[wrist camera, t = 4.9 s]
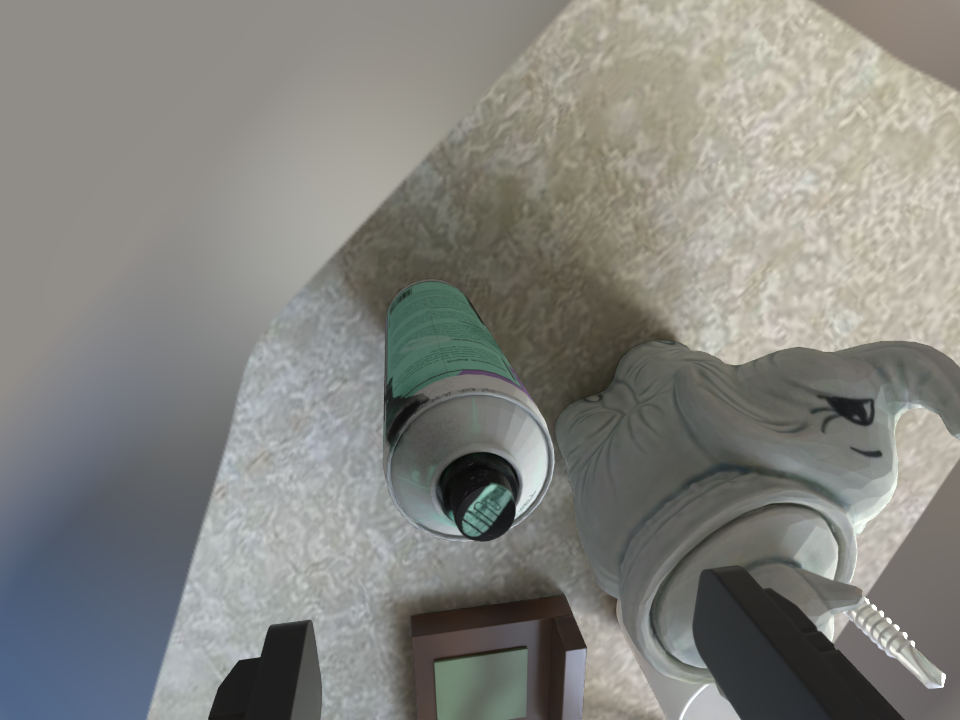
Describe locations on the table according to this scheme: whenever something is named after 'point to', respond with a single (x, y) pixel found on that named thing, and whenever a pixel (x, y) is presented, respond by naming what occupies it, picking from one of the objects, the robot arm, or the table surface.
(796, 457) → the teapot
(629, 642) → the cup
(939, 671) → the screw
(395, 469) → the spray can
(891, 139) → the table surface
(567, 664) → the brown wooden square frame
